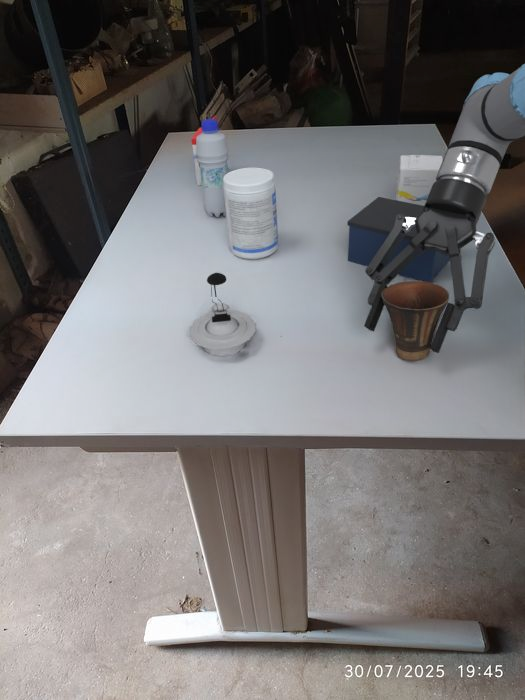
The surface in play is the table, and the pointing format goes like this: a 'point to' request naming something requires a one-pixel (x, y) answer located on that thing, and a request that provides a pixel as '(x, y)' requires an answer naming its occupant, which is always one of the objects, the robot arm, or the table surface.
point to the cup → (414, 315)
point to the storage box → (374, 229)
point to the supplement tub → (251, 212)
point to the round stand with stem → (222, 326)
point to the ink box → (416, 177)
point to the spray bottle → (197, 165)
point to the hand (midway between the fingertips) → (400, 339)
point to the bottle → (212, 166)
